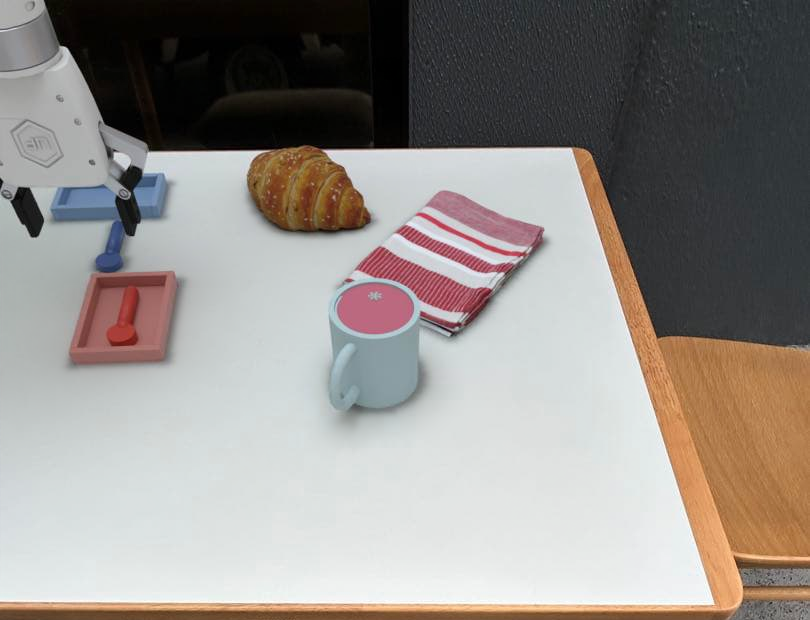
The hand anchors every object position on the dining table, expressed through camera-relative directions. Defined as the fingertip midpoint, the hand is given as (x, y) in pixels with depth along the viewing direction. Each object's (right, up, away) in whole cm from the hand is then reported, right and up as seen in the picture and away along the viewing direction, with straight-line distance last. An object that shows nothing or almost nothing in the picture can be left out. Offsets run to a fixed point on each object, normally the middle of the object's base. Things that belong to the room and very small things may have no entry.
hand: (85, 229), depth 69 cm
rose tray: (0, -7, +10) cm, 12 cm away
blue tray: (-7, +14, +23) cm, 28 cm away
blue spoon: (-5, +5, +17) cm, 19 cm away
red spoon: (0, -7, +9) cm, 12 cm away
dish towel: (+39, +3, +17) cm, 42 cm away
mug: (+29, -16, +5) cm, 34 cm away
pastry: (+19, +14, +23) cm, 33 cm away
